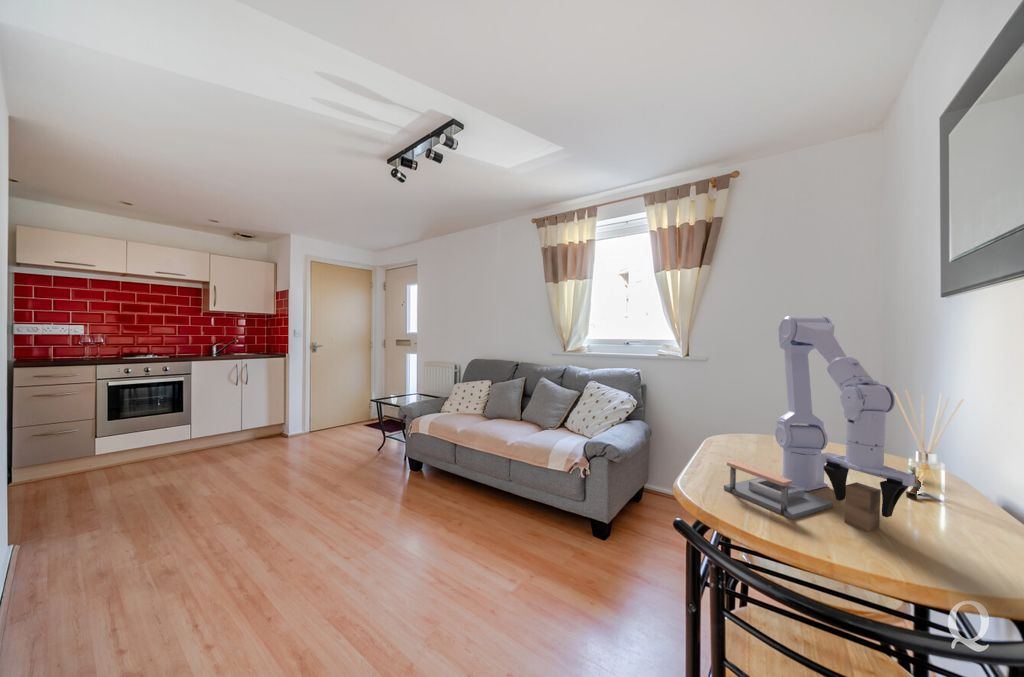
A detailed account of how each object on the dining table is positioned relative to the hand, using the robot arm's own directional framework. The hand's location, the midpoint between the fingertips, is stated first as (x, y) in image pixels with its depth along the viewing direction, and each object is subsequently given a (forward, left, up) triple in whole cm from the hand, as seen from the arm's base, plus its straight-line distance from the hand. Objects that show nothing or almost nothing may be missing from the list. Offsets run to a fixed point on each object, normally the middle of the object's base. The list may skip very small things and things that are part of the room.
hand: (862, 507), depth 77 cm
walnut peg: (0, 0, -4) cm, 4 cm away
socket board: (+3, -15, -4) cm, 16 cm away
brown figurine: (-31, -3, -4) cm, 31 cm away
